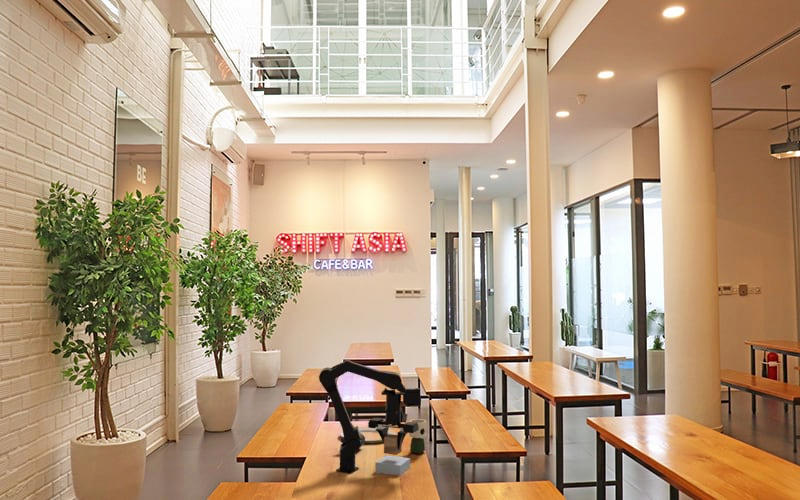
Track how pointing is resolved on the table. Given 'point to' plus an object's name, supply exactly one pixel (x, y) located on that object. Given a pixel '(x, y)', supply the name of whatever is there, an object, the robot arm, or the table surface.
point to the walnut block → (391, 444)
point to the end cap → (361, 440)
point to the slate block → (392, 465)
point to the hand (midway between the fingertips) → (392, 448)
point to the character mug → (418, 437)
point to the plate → (366, 429)
